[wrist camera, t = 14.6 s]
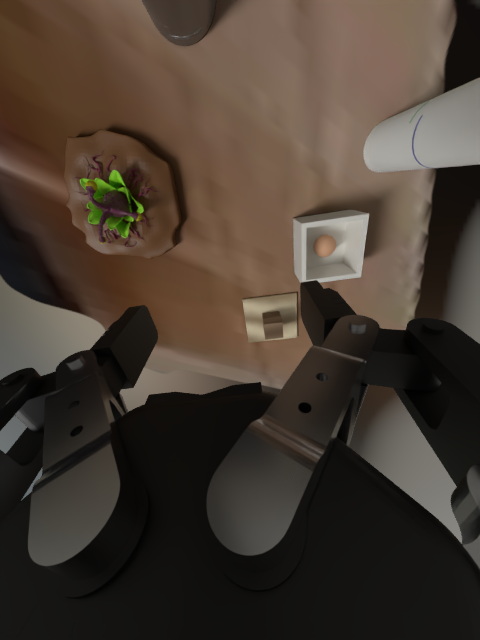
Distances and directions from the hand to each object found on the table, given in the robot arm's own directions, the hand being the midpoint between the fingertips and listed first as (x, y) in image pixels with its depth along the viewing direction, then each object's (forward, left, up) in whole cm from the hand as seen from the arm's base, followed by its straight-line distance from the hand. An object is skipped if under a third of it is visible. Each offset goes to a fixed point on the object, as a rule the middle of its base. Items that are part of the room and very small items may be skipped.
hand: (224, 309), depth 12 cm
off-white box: (+7, +16, -36) cm, 40 cm away
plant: (-6, -19, -37) cm, 42 cm away
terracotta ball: (+7, +16, -34) cm, 38 cm away
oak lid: (+23, +5, -37) cm, 43 cm away
